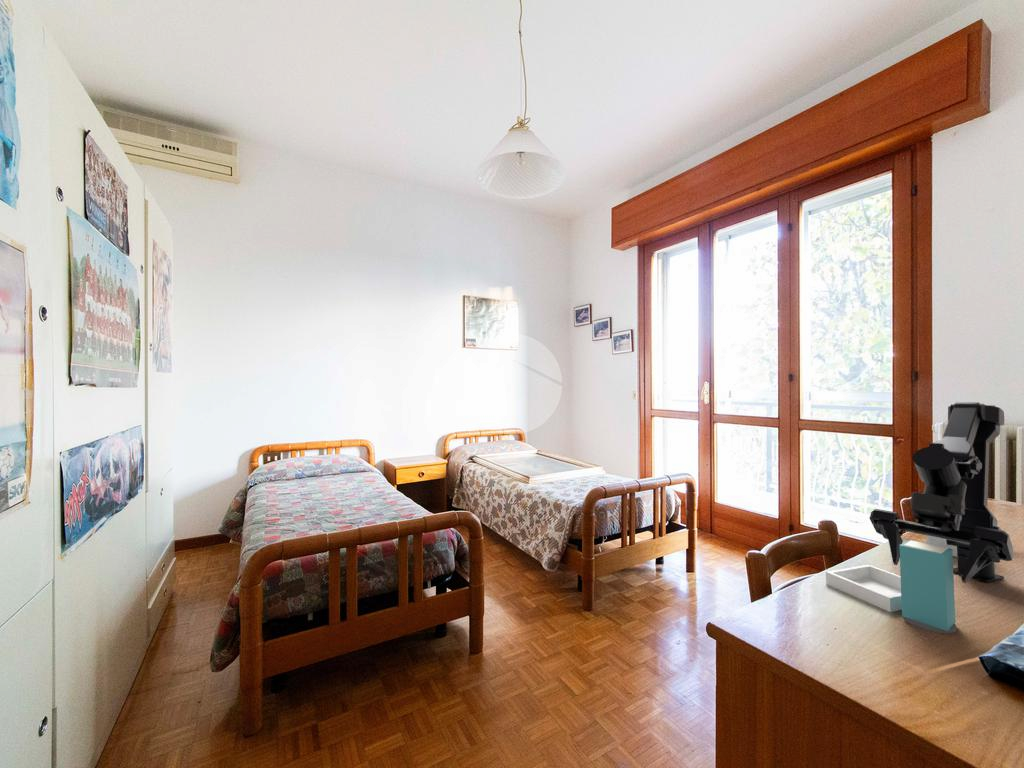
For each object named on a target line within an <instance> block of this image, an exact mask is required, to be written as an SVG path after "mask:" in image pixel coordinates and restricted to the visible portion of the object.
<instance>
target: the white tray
mask: <svg viewBox="0 0 1024 768" xmlns="http://www.w3.org/2000/svg"><path fill="white" fill-rule="evenodd" d="M825 584H826V585H828V586H830V587H832V588H835V589H836V590H839V591H842V592H843V593H846V594H848V595H851V596H853V597H855V598H857V599H859V600H862V601H864V602H867V603H869V604H871V605H873V606H875V607H878V608H880V609H883V610H884V611H886V612H890V613H892V612H893V613H894V612H897V611H902V602H901V575H900V574H899V575H898V574H896V573H892V572H891V571H888V570H885V569H882V568H879V567H876V566H873V565H871V564H864V565H859V566H852V567H846V568H840V569H833V570H828V571H825Z"/></svg>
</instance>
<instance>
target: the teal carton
mask: <svg viewBox="0 0 1024 768" xmlns="http://www.w3.org/2000/svg"><path fill="white" fill-rule="evenodd" d="M899 548H900V559H899V568H900V569H899V571H900V574H899V576H901V602H902V610H901V617H902V618H903V617H906V618H909V619H912V620H915V621H918V622H921V623H924V624H927V625H930V626H933V627H936V628H940V629H943V630H946V631H948V630H949V629H950V628H951V627H952V626H953V624H954V623H955V624H956V606H955V605H956V604H955V602H956V601H955V577H954V574H955V573H954V572H953V568H954V556H953V549H951V548H946V547H941V546H936V545H932V544H927V543H926V542H923V541H922V542H920V541H917V540H911V539H906V541H903V542H902V544H900V545H899Z"/></svg>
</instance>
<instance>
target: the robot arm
mask: <svg viewBox="0 0 1024 768" xmlns="http://www.w3.org/2000/svg"><path fill="white" fill-rule="evenodd" d="M1001 426H1005V411H1004V410H1003V409H1002V408H1001V407H999V406H996V405H992V404H991V405H990V404H989V405H988V404H987V405H986V404H984V403H980V402H976V401H975V402H972V401H970V402H969V401H968V402H967V401H966V402H965V401H964V402H963V401H962V402H961V401H959V402H958V401H956V402H953V403H950V406H947V424H946V427H945V430H944V433H943V434H942V435H943V436H942V437H941V439H939V440H936V441H935V442H929V445H928V446H925V447H923V448H920V449H918V450H916V451H915V452H914V453H913V454H912V461H913V463H914V467H915V469H916V471H917V474H918V476H919V478H920V480H921V482H922V483H923V484H924V488H923V493H922V492H916V491H915V492H911V496H910V497H911V498H910V507H909V509H910V510H912V514H911V515H912V518H913V519H914V520H916V521H909V520H904V519H901V517H900V515H899V513H898V511H890V510H886V509H885V510H884V509H878V508H875V509H874V510H872V511H871V512H870V515H869V520H870V522H871V524H872V527H873V528H874V531H875V532H876V533H877V534H879V535H882V537H883V539H885V540H887V541H888V544H889V549H890V555H891V560H892V563H893V565H894V566H898V564H899V563H900V548H899V545H900V544H902V543H904V541H903V538H902V536H903V533H904V531H905V532H909V533H913V534H914V533H915V534H919V535H925V536H926V535H928V536H932V537H937V538H942V539H946V542H947V545H953V546H957V557H956V563H957V564H956V565H957V567H953V573H954V574H958V575H961V581H962V583H968V581H970V580H971V579H973V580H976V581H979V582H983V583H990V582H995V581H1000V580H1004V579H1005V576H1003V575H1000V574H997V573H996V570H995V569H996V568H995V566H996V565H995V563H996V564H998V563H1001V561H1005V562H1011V561H1013V558H1014V556H1013V555H1014V546H1013V544H1012V540H1011V538H1010V534H1008V532H1006V531H1005V530H1002V528H1001V527H1000V526H998V520H997V518H996V516H995V515H994V514H993V512H992V511H991V510H990V508H989V507H988V497H989V496H988V495H989V468H990V467H989V464H990V461H989V460H990V445H991V444H992V443H993V441H995V439H997V438H998V437H999V436H1000V435H1001Z"/></svg>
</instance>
